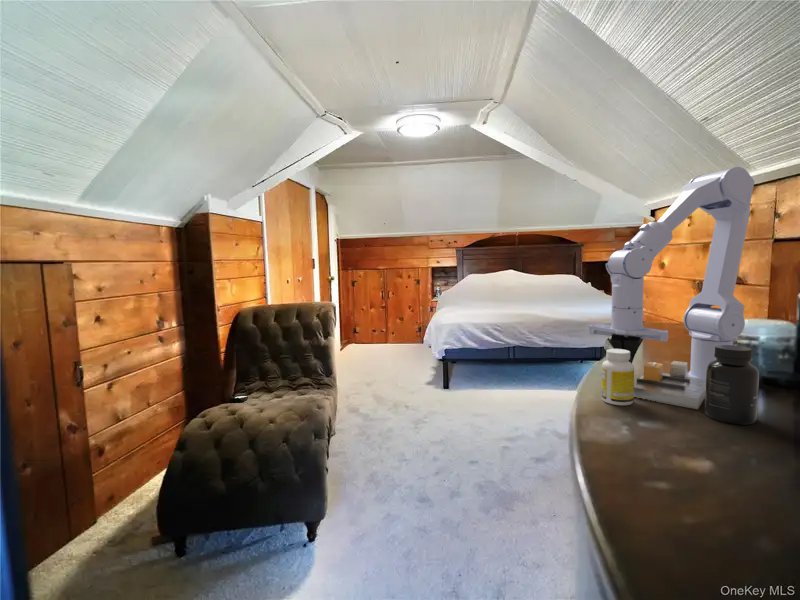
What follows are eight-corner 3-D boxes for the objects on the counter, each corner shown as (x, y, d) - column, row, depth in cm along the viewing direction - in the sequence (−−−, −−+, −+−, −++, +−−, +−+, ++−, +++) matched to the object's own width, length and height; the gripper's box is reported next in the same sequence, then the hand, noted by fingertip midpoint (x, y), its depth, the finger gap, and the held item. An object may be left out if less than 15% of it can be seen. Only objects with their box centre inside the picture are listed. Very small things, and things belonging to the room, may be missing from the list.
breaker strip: (647, 379, 90) (648, 357, 90) (709, 389, 83) (710, 365, 82) (629, 396, 80) (629, 371, 80) (697, 409, 73) (698, 382, 72)
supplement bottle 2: (767, 427, 65) (771, 352, 63) (717, 424, 66) (721, 352, 65) (740, 410, 71) (744, 343, 70) (696, 409, 73) (699, 343, 72)
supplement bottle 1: (640, 402, 77) (641, 351, 76) (621, 408, 74) (622, 355, 73) (613, 394, 82) (614, 346, 81) (595, 399, 79) (595, 350, 78)
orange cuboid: (648, 376, 85) (648, 361, 85) (662, 378, 84) (662, 362, 83) (643, 380, 83) (643, 365, 82) (657, 382, 81) (658, 367, 81)
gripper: (584, 307, 87) (583, 369, 89) (663, 311, 77) (661, 381, 79) (595, 303, 92) (594, 362, 94) (671, 307, 82) (669, 373, 84)
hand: (625, 371), depth 87 cm, fingers closed
